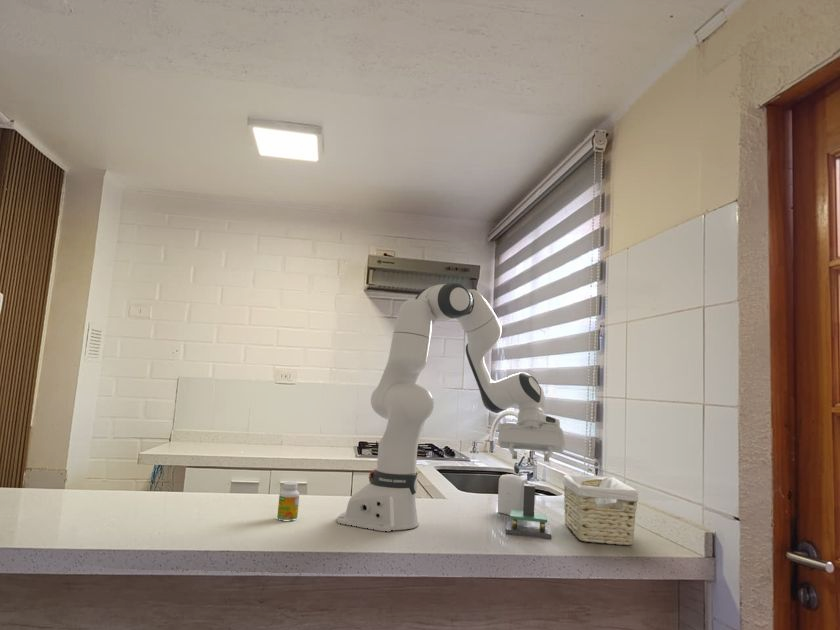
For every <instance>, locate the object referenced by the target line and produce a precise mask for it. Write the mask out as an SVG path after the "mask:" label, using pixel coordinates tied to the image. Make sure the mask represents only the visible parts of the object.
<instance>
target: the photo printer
mask: <svg viewBox="0 0 840 630" xmlns="http://www.w3.org/2000/svg"><path fill="white" fill-rule="evenodd" d="M524 484H528V481H527V479H525V478H524V477H521V476H520V475H518V474H513V473H510V474H509V473H506V474H502V475H500V477H499V478H498V488H497V492H498V494H497V512H498V513H500V514H504V515H507V516H510V514H511V510H518V511H523V506H524Z"/></svg>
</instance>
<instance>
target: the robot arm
mask: <svg viewBox="0 0 840 630" xmlns="http://www.w3.org/2000/svg"><path fill="white" fill-rule="evenodd" d="M453 319H456V320H457V321H458V322H459V323H460V325H461V328H462V329H463V331H464V332H465V334H466V338H467V343H466V345H465V355H466V357H467V361H468V364H469V366H470V369H471V371H472V374H473V377H474V379H475V381H476V384H477V388H478V389H479V393H480V397H481V400H482V404H483V406H484V407H485V409H487V410H488V411H490V412H491V413H495V414H500V413H501V412H504V411H506V410H507V409H510V408H514V407H516V406H517V407H518V410H519V412H518V414H517V422H507V421H503V422H502V423H500V424H498V427H497V431H498V437H497V439H498V440H497V445H498V446H499V448H501V449H508V450H509V451H508V452H510V454H511V456H512V457H511V459H512V460H518V451H515V450H522V451H523V450H525V451H538V452H547V453H543V462H545V463H549V462H550V458H551V457H552V455H553V453H563V452H564V451H565V446H566V445H565V444H566V442H565V441H566V440H565V436H564V431H563V429H562V427H561V423H560V419H559V418H556V417H552V416H551V415H547V414H546V397H545V392H544V389H543V387H542V385H540V384H539V382H538V381H537V380H536V378H535V377H533V375H531V374H529V373H527V372H524V371H521V372H518V373H515V374H514V373H513V374H511V375H509V376H508V377H504V378H502V379H499V380H493V379H492V378H491V375H490V373H489V371H488V368H487V365H486V363H485V356H486V355H487V354H488V353H489V352H490V351H491V350H492V349H493V348H494V347H495V346H496V345H497V344H498V342H499V340H500V338H501V336H502V325H501V323H500V320H499V318H498V317H497V315H496V313H495V312H494V310H493V308H492V306H491V305H490V304H489V302H488V301H487V299H486V298H484V295H482V294H481V293H480V291H478V290H476V289H472V288H470V289H468V288H467V286H465V285H463V284H462V283H459V282H447V283H444V284H442V283H441V284H436V285H432V286H430V287H427V288H423V290H421V291H420V292H419V293H418V294H417V295H416V296H415V298H411V299H407V300H406V301H404V302H402V304H401V306H400V308H399V311H398V313H397V316H396V320H395V323H394V327H393V333H392V339H391V343H390V344H391V345H390V349H389V355H388V358H387V363H386V366H385V367H384V370H383V372H382V374H381V378H380V380H379V383H378V385H377V387H376V388H375V389H374V391H372V394H371V396H370V404H371V407H372V409H373V411H374V413H376V414H377V415H378V416H380V417H381V418H383V419H385V420H387V425H386V427H385V431H384V434H383V436H382V437H381V438H380V439H379V442H378V449H377V451H378V452H377V462H376V464H377V465H376V468H374V469H372V471H371V472H370V473H369V474H368V479H369V480H368V481H369V483H367V484H366V485H365V486H363V487H362V488H361V489H359V490H358V491H357V492H355V493H354V494H353V495H352V496H351V497H350V498H349V500H348V501H347V502H348V503H347V506H346V509H345V511H344V512H342V513H340V514H339V515H338V516H337V521H338V522H337V523H338V524H340V523H341V524H340V525H345V524H346V526H351V525H352V526H353V527H356V526H357V528H363V529H367V528H368V529H369V530H373V529H374V530H375V531H379V532H385V531H387V532H392V531H391V530H393V531H401V530H403V531H404V530H409V529H410V530H411V529H414V528H416V527H418V526H419V524H420V523H419V521H418V520H419V519H418V513H417V505H416V493H417V490H418V489H417V488H418V472H417V461H418V460H417V459H418V449H419V448H418V447H419V442H420V439H421V434H422V431H423V428H424V425H425V423H426V422H427V420H428V418H429V417H430V416H431V415H432V413H433V411H434V404H435V402H434V398H433V396H432V393H431V392H430V390H429V389H427V388H426V387H423V386H422V385H420V384H416V383H417V381H418V377H419V376H420V374H421V373H422V371H424V369H425V367H426V365H427V362H428V356H429V349H430V342H431V337H432V329H433V326H434V323H436V321H438V322H439V321H440V322H443V321H451V320H453ZM352 526H351V527H352ZM374 530H373V531H374Z"/></svg>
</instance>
